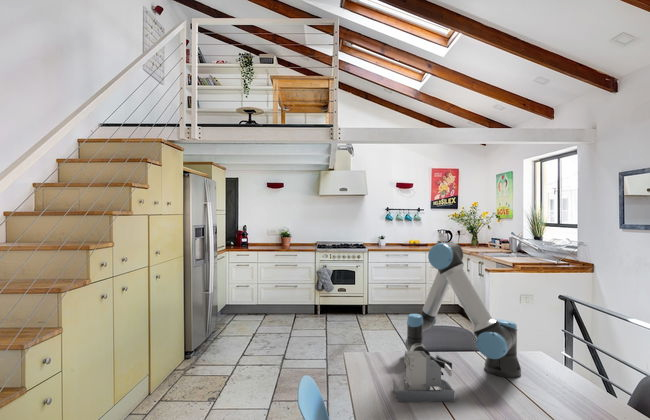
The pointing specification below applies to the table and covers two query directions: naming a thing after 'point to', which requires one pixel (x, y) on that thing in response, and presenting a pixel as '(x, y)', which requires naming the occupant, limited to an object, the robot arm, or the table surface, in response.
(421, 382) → the circuit breaker
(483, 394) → the table surface
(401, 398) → the grey u-shaped bracket
